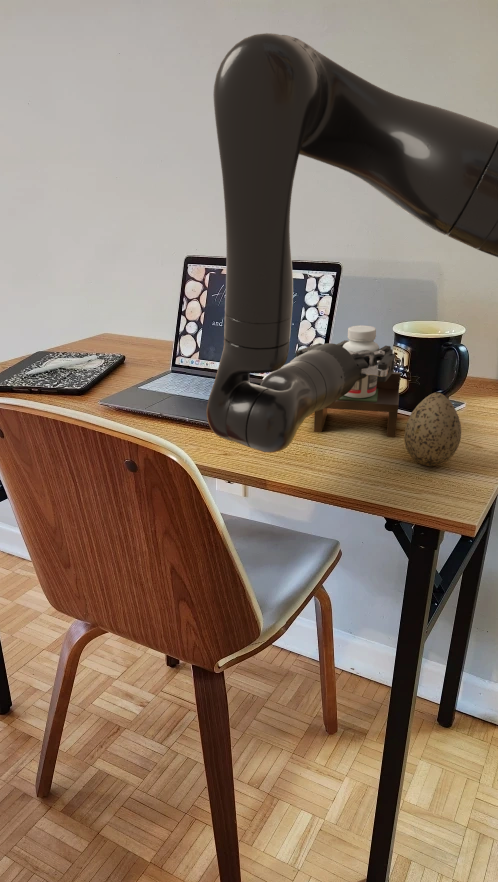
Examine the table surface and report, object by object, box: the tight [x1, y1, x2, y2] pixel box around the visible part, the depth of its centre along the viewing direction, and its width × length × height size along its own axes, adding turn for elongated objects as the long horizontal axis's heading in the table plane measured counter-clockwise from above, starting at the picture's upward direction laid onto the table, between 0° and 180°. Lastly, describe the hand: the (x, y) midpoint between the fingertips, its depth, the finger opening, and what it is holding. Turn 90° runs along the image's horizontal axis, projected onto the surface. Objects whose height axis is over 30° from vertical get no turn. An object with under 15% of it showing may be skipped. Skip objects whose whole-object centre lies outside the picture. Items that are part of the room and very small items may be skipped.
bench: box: [313, 371, 402, 438], centre depth 105 cm, size 12×8×8 cm, turn 76°
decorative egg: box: [403, 392, 462, 467], centre depth 90 cm, size 7×7×10 cm
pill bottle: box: [343, 324, 380, 398], centre depth 101 cm, size 5×5×10 cm
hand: (367, 349), depth 103 cm, fingers open, 6 cm apart
